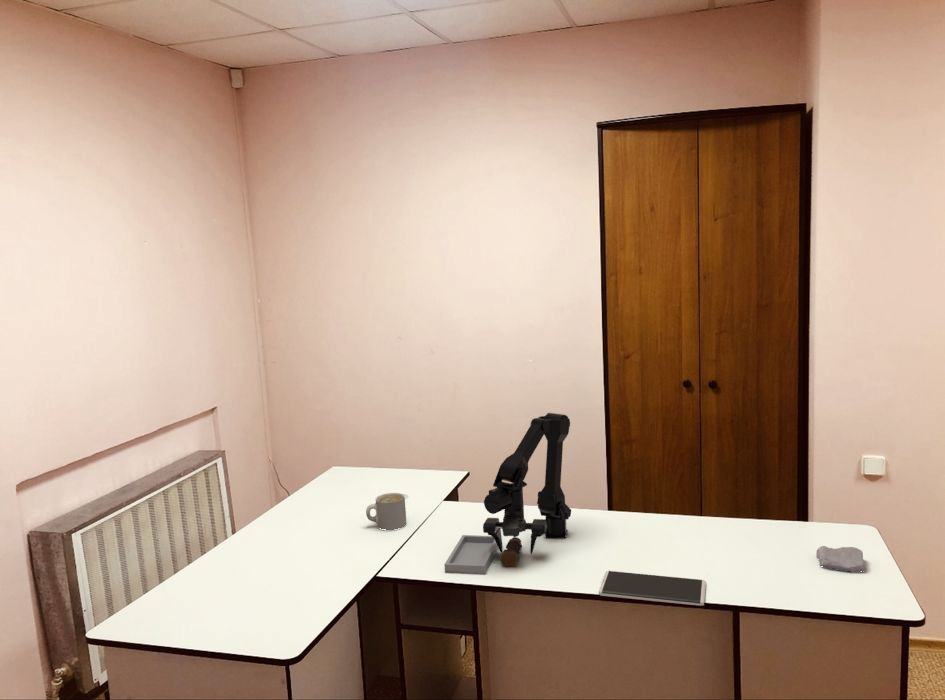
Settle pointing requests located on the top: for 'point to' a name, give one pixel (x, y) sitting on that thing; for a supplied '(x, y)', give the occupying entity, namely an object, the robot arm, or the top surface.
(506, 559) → the bolt
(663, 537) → the top surface
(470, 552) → the parts tray
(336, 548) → the top surface
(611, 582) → the smartphone
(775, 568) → the top surface
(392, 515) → the coffee mug
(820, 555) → the stone block
